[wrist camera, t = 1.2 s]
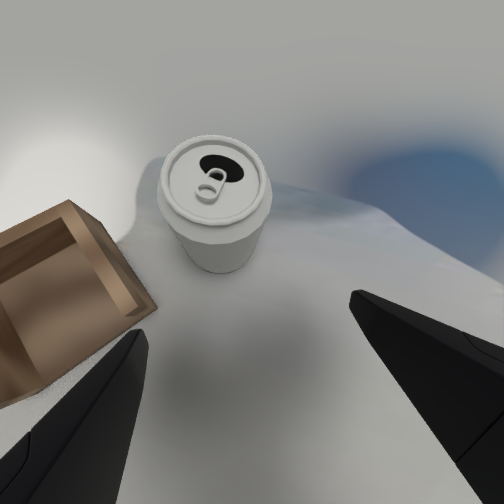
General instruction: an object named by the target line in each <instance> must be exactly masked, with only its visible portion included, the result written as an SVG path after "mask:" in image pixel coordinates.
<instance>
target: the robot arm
mask: <svg viewBox="0 0 504 504" xmlns="http://www.w3.org/2000/svg"><path fill="white" fill-rule="evenodd" d="M349 308H350V310H351V312H352V314H353V316H354V317H355V319H356V321H357V323H358V324H359V326H360V328H361V330H362V331H363V333H364V335H365V337H366V338H367V340H368V341H369V343H370V344H371V346H372V347H373V349H374V350H375V351H376V353H377V354H378V356H379V357H380V358H381V360H382V361H383V363H384V364H385V366H386V367H387V368H388V370H389V371H390V373H391V374H392V375H393V377H394V378H395V380H396V381H397V383H398V384H399V385H400V387H401V388H402V390H403V391H404V392H405V394H406V395H407V397H408V398H409V399H410V401H411V402H412V404H413V405H414V407H415V408H416V409H417V411H418V412H419V414H420V415H421V416H422V418H423V419H424V421H425V422H426V424H427V425H428V426H429V428H430V429H431V431H432V432H433V433H434V435H435V436H436V438H437V439H438V440H439V442H440V443H441V445H442V446H443V448H444V449H445V450H446V452H447V453H448V455H449V456H450V457H451V459H452V460H453V462H454V463H455V465H456V466H457V468H458V469H459V470H460V472H461V473H462V475H463V476H464V478H465V479H466V480H467V482H468V483H469V485H470V486H471V487H472V489H473V490H474V492H475V493H476V494H477V496H478V497H479V499H480V500H481V502H482V503H483V504H504V348H503V347H500V346H497V345H495V344H492V343H490V342H487V341H485V340H482V339H480V338H478V337H475V336H473V335H470V334H468V333H466V332H463V331H460V330H458V329H456V328H453V327H451V326H449V325H446V324H444V323H441V322H439V321H437V320H434V319H432V318H429V317H427V316H425V315H422V314H420V313H417V312H415V311H413V310H410V309H408V308H405V307H403V306H401V305H398V304H396V303H393V302H391V301H388V300H386V299H384V298H381V297H379V296H376V295H374V294H372V293H369V292H367V291H364V290H355V291H353V292H352V293H351V298H350V302H349ZM148 349H149V345H148V341H147V339H146V336H145V334H144V331H143V330H142V329H135V330H130V331H129V332H128V333H127V334H126V335H125V336H124V337H123V338H122V339H121V340H120V341H119V342H118V343H117V344H116V345H115V346H114V347H113V348H112V349H111V350H110V351H109V352H108V353H107V354H106V355H105V356H104V357H103V358H102V359H101V360H100V361H99V362H98V363H97V364H96V365H95V366H94V367H93V368H92V369H91V370H90V371H89V372H88V373H87V374H86V375H85V376H84V377H83V378H82V379H81V380H80V381H79V382H78V383H77V384H76V385H75V386H74V387H73V388H72V389H71V390H70V391H69V392H68V393H67V394H66V395H65V396H64V397H63V398H62V399H61V400H60V401H59V402H58V403H57V404H56V405H55V406H54V407H53V408H52V409H51V410H50V411H49V412H48V413H47V414H46V415H45V416H44V417H43V418H42V419H41V420H40V421H39V422H38V423H37V424H36V425H35V426H34V427H33V428H32V429H31V431H29V432H27V433H26V434H25V435H24V436H23V437H22V438H21V439H20V440H19V441H18V442H17V443H16V444H15V445H14V446H13V447H12V448H11V449H10V450H9V451H8V452H7V453H6V454H5V455H4V456H3V457H2V458H1V459H0V504H116V500H117V496H118V492H119V488H120V484H121V480H122V476H123V471H124V467H125V463H126V459H127V455H128V451H129V447H130V442H131V438H132V434H133V430H134V426H135V422H136V418H137V413H138V409H139V405H140V401H141V397H142V392H143V387H144V380H145V372H146V365H147V357H148Z"/></svg>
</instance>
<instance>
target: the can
mask: <svg viewBox="0 0 504 504" xmlns="http://www.w3.org/2000/svg"><path fill="white" fill-rule="evenodd" d="M272 197H273V196H272V190H271V183H270V180H269V178H268V176H267V175H266V171H265V168H264V166H263V164H262V162H261V160H260V158H259V156H258V155H257V154H256V153H255V152H254V151H252V149H251V148H250V147H248V146H247V145H245V144H243V143H242V142H240V141H238V140H236V139H234V138H230V137H226V136H222V135H203V136H199V137H194V138H190V139H188V140H186V141H185V142H183V143H181V144H179V145H178V146H176V147H175V148H174V149H173V150H172V151H171V153H170V154H169V155H168V156H167V157H166V159H165V161H164V163H163V166H162V168H161V171H160V179H159V182H158V184H157V202H158V205H159V207H160V210H161V213H162V215H163V218H164V219H165V221H166V222H167V224H168V225H169V226H170V228H171V229H172V231H173V232H174V234H175V235H176V237H177V238H178V240H179V241H180V243H181V244H182V246H183V247H184V249H185V250H186V252H187V253H188V255H189V256H190V258H191V259H192V260H193V261H194V262H195V263H196V265H197V266H199V267H201V268H203V269H204V270H206V271H209V272H214V273H228V272H231V271H234V270H236V269H238V268H240V267H241V266H242V265H244V264H245V263H246V262H247V261H248V259H249V258H250V256H251V254H252V253H253V251H254V248H255V246H256V243H257V241H258V238H259V236H260V234H261V231H262V229H263V226H264V224H265V221H266V219H267V217H268V214H269V212H270V207H271V202H272Z"/></svg>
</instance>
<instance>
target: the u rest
mask: <svg viewBox="0 0 504 504" xmlns="http://www.w3.org/2000/svg"><path fill="white" fill-rule="evenodd" d="M156 309H158V307H157V306H156V304H155V303H154V301H153V300H152V298H151V297H150V295H149V294H148V292H147V291H146V289H145V288H144V286H143V285H142V283H141V282H140V280H139V279H138V277H137V276H136V274H135V273H134V271H133V270H132V268H131V267H130V265H129V264H128V262H127V261H126V259H125V258H124V256H123V255H122V253H121V252H120V250H119V249H118V247H117V246H116V244H115V243H114V241H113V240H112V238H111V237H110V235H109V234H108V232H107V231H106V229H105V228H104V226H103V224H102V223H101V222H100V221H98V220H97V219H95V218H94V217H93V216H91V215H90V214H89V213H87V212H86V211H84V210H83V209H82V208H80V207H79V206H78V205H76V204H75V203H73V202H72V201H71V200H69V199H68V200H66V201H64V202H62V203H60V204H58V205H56V206H54V207H52V208H50V209H48V210H46V211H44V212H42V213H40V214H38V215H36V216H34V217H32V218H30V219H28V220H26V221H24V222H22V223H20V224H17V225H15V226H13V227H11V228H10V229H8V230H6V231H3V232H1V233H0V409H2V408H4V407H7V406H9V405H11V404H14V403H16V402H19V401H21V400H23V399H26V398H28V397H30V396H33V395H35V394H38V393H39V392H41V391H42V390H43V389H45V388H46V387H48V386H49V385H50V384H52V383H53V382H55V381H56V380H58V379H59V378H60V377H62V376H63V375H65V374H66V373H67V372H69V371H70V370H72V369H73V368H74V367H76V366H77V365H79V364H80V363H81V362H83V361H84V360H86V359H87V358H89V357H90V356H91V355H93V354H94V353H96V352H97V351H98V350H100V349H101V348H103V347H104V346H105V345H107V344H108V343H110V342H111V341H112V340H114V339H115V338H117V337H118V336H119V335H121V334H122V333H124V332H125V331H127V330H128V329H129V328H131V327H132V326H134V325H135V324H136V323H138V322H139V321H141V320H142V319H143V318H145V317H146V316H148V315H149V314H150V313H152V312H153V311H155V310H156Z"/></svg>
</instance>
